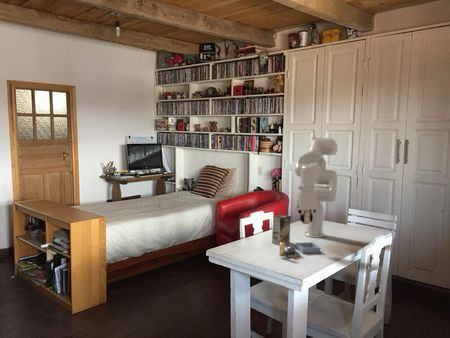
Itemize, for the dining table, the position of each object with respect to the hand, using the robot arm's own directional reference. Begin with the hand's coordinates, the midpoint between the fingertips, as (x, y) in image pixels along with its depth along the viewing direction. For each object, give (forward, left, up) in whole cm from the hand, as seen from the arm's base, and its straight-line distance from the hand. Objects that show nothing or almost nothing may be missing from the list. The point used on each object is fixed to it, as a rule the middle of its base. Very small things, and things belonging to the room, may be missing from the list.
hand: (306, 221), depth 212 cm
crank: (+8, -13, -16) cm, 22 cm away
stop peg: (0, 0, -1) cm, 1 cm away
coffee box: (-16, -8, -17) cm, 25 cm away
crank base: (+8, -10, -17) cm, 21 cm away
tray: (0, +2, -17) cm, 17 cm away
